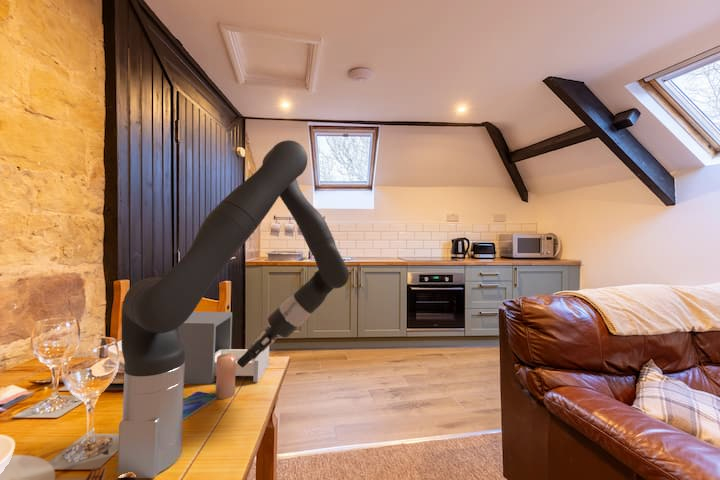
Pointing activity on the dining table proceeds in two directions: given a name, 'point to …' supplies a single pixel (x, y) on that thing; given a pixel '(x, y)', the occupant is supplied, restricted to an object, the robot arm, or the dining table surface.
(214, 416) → the dining table surface
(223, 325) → the cabinet
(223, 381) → the tan rounded cylinder
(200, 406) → the smartphone
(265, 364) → the drawer
